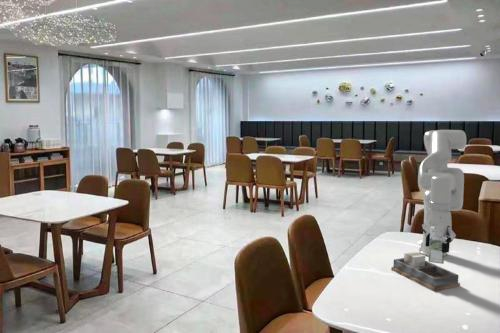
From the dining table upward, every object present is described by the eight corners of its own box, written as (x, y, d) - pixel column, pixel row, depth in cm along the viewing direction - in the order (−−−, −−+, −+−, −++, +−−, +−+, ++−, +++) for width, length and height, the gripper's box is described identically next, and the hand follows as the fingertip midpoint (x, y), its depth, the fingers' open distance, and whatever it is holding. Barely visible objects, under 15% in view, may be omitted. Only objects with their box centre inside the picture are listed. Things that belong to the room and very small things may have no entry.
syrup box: (444, 259, 181) (446, 225, 179) (443, 264, 176) (445, 228, 174) (429, 257, 183) (431, 223, 181) (428, 262, 178) (430, 227, 176)
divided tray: (391, 269, 195) (392, 251, 194) (415, 265, 200) (416, 248, 199) (433, 291, 173) (434, 271, 171) (459, 286, 178) (461, 266, 177)
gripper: (416, 202, 183) (414, 244, 185) (449, 212, 167) (446, 256, 170) (430, 201, 186) (428, 242, 188) (464, 210, 170) (461, 254, 172)
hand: (437, 248), depth 179 cm, fingers closed on syrup box, 8 cm apart
